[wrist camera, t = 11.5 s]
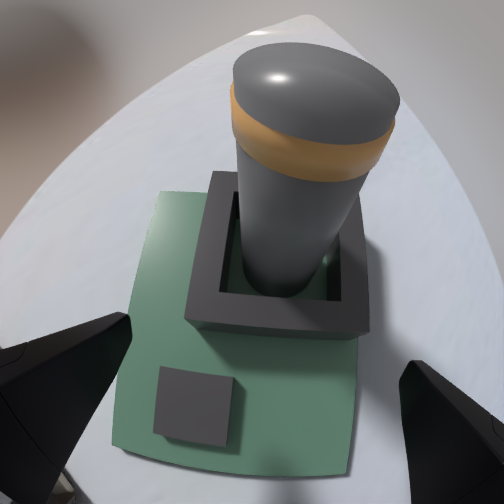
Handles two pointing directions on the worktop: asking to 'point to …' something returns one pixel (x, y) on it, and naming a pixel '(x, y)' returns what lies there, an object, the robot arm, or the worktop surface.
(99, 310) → the worktop surface
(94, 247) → the worktop surface
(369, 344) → the worktop surface
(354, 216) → the header board
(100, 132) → the worktop surface
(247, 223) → the plug
